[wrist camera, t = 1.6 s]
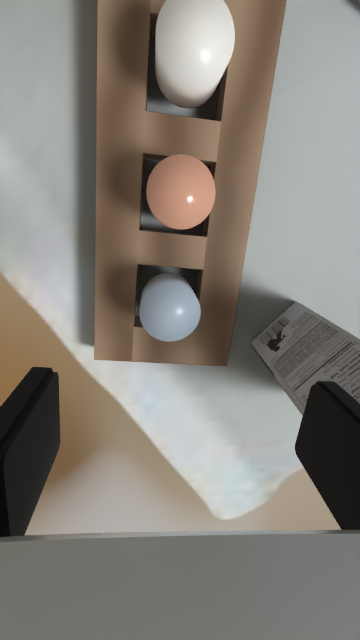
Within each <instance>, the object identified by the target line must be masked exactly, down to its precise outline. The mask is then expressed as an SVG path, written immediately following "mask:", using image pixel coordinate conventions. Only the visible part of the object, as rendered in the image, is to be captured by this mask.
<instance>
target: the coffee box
mask: <svg viewBox="0 0 360 640" xmlns="http://www.w3.org/2000/svg"><path fill="white" fill-rule="evenodd" d="M251 346H252V347H253V349H254V350H255V351H256V353H257V354H258V355H259V357H260V358H261V359H262V361H263V362H264V364H265V365H266V366H267V368H268V369H269V370H270V372H271V373H272V375H273V376H274V377H275V379H276V380H277V381H278V383H279V384H280V386H281V387H282V388H283V390H284V391H285V392H286V394H287V395H288V396H289V398H290V399H291V400H292V402H293V403H294V405H295V406H296V407H297V409H298V410H299V411H300V413H301V414H302V415H303V414H304V410H305V406H306V403H307V399H308V395H309V392H310V388H311V386H312V385H315V383H316V382H317V381H333V382H336V383H337V384H338V385H339V386H341V387H342V388H343V389H344V390H345V391H346V392H347V393H348V394H349V395H351V396H352V397H353V398H354V399H355V400H356V401H357V402H358V403H359V404H360V339H358V338H357V337H355V336H353V335H352V334H350V333H348V332H347V331H345V330H343V329H342V328H340V327H338V326H337V325H335V324H333V323H332V322H330V321H328V320H327V319H325V318H323V317H322V316H320V315H319V314H317V313H315V312H313V311H312V310H310V309H308V308H307V307H305V306H303V305H302V304H300V303H298V302H295V303H294V304H292V305H291V306H290V307H289V308H288V309H287V310H286V311H285V312H284V313H282V314H281V315H280V316H279V317H278V318H277V319H276V320H275V321H274V322H272V323H271V324H270V325H269V326H268V327H267V328H266V329H265V330H264V331H263V332H261V333H260V334H259V335H258V336H257V337H256V338H255V339H254V340H253V341H251Z"/></svg>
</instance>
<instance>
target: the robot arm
mask: <svg viewBox="0 0 360 640" xmlns="http://www.w3.org/2000/svg"><path fill="white" fill-rule="evenodd" d="M59 445H60V416H59V380H58V373H57V372H53V370H52V368H44V367H32V368H31V370H30V371H29V372H28V373H27V375H26V376H25V377H24V378H23V380H22V381H21V382H20V383H19V385H18V386H17V387H16V388H15V390H14V391H13V392H12V393H11V395H10V396H9V397H8V398H7V400H6V401H5V402H4V403H3V405H2V406H0V640H360V404H359V403H358V402H357V401H356V400H355V399H354V398H353V397H352V396H351V395H349V394H348V393H347V392H346V391H345V390H344V389H343V388H342V387H341V386H339V385H338V384H337V383H336V382H333V381H317V382H316V383H315V385H312V386H311V388H310V392H309V395H308V399H307V403H306V406H305V410H304V414H303V418H302V421H301V425H300V429H299V432H298V436H297V440H296V444H295V451H296V455H297V457H298V458H299V460H300V462H301V463H302V465H303V467H304V468H305V470H306V471H307V473H308V475H309V476H310V478H311V479H312V481H313V483H314V485H315V486H316V488H317V489H318V491H319V493H320V495H321V496H322V498H323V500H324V501H325V503H326V505H327V506H328V508H329V510H330V511H331V513H332V514H333V516H334V518H335V519H336V521H337V523H338V524H339V526H340V528H341V529H342V530H278V531H277V530H272V531H271V530H268V531H187V532H134V533H133V532H131V533H130V532H129V533H84V534H83V533H81V534H50V535H25V532H26V530H27V527H28V525H29V522H30V520H31V517H32V515H33V512H34V510H35V507H36V505H37V502H38V500H39V497H40V495H41V492H42V490H43V487H44V485H45V482H46V480H47V477H48V475H49V472H50V470H51V468H52V465H53V462H54V460H55V457H56V455H57V453H58V450H59ZM24 535H25V536H24Z"/></svg>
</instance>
